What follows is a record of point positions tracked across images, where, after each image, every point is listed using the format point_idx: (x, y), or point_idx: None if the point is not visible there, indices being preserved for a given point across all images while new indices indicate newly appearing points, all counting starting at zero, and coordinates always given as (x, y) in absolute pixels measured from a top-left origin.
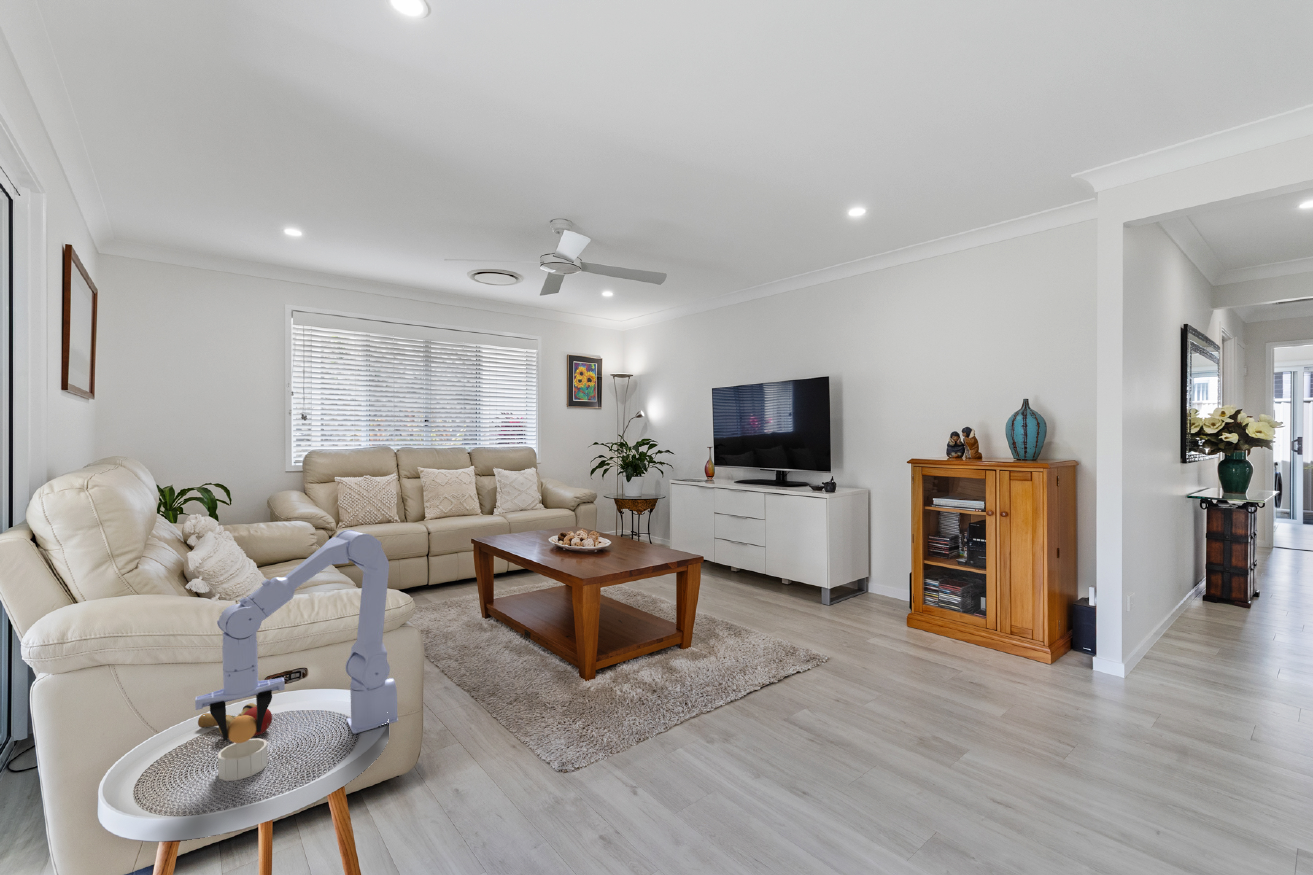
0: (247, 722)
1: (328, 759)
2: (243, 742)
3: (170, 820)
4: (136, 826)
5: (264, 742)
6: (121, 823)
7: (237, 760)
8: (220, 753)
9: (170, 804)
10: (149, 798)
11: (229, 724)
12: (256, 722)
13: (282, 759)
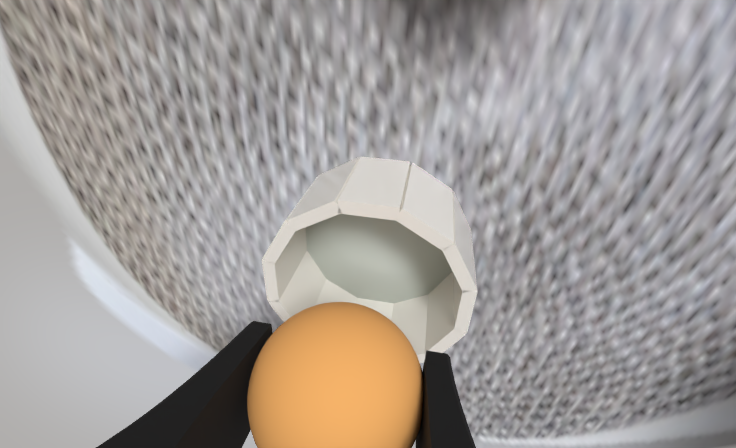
0: None
1: (643, 381)
2: (376, 215)
3: (209, 360)
4: (141, 332)
5: (463, 304)
6: (99, 297)
7: None
8: (273, 267)
9: (188, 294)
10: (115, 219)
11: (249, 418)
12: (416, 436)
13: (521, 271)
